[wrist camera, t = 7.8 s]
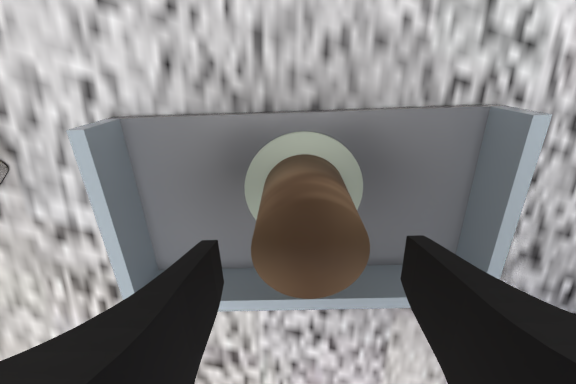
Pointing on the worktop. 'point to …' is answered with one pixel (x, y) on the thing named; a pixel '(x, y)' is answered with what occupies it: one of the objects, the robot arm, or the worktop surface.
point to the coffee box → (2, 171)
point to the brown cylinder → (308, 230)
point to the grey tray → (330, 146)
